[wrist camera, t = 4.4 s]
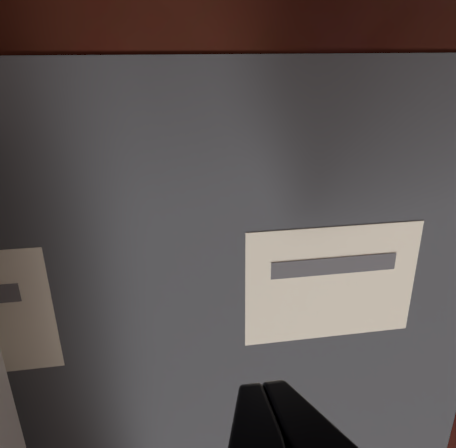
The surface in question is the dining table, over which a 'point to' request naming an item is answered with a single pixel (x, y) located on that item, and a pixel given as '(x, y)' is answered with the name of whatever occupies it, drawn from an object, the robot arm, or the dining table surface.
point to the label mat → (227, 243)
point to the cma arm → (8, 414)
